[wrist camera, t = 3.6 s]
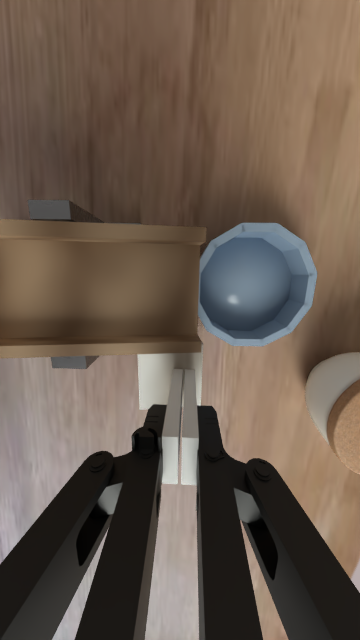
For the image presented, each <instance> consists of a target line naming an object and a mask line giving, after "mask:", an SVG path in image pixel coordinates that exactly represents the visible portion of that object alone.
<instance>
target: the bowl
mask: <svg viewBox="0 0 360 640" xmlns="http://www.w3.org/2000/svg"><path fill="white" fill-rule="evenodd" d="M316 279H317V271H316V268H315V266H314V263H313V260H312V258H311V255H310V253H309V250H308V248H307V245H306V243H305V242H304V241H303V240H301V239H300V238H299V237H297V236H296V235H294V234H293V233H291V232H290V231H288V230H287V229H285V228H284V227H282V226H281V225H280V224H278V223H241V224H239V225H237V226H236V227H234V228H232V229H231V230H229V231H227V232H225V233H224V234H222V235H220V236H219V237H217V238H215V239H213V240H212V241H211V242H210V243H209V244H208V245H207V246H206V248H205V250H204V251H203V253H202V255H201V256H200V271H199V299H198V316H199V317H200V319H201V321H202V323H203V325H204V327H205V328H206V330H207V331H208V332H210V333H212V334H213V335H215V336H217V337H218V338H220V339H222V340H224V341H225V342H227V343H229V344H230V345H232V346H264V345H266V344H269V343H271V342H273V341H275V340H277V339H279V338H281V337H283V336H285V335H287V334H289V333H291V332H292V331H293V330H294V328H295V327H296V326H297V325H298V323H299V322H300V321H301V319H302V318H303V317H304V315H305V314H306V313H307V312H308V310H309V309H310V308H311V306H312V302H313V296H314V290H315V284H316Z"/></svg>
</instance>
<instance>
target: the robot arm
mask: <svg viewBox="0 0 360 640" xmlns="http://www.w3.org/2000/svg"><path fill="white" fill-rule="evenodd" d="M182 392H183V369H173V373H172V379H171V385H170V391H169V397H168V403H167V405H162V404H153V405H152V406H151V407H150V408H149V409H148V412H147V416H146V419H145V422H144V426H143V427H141V428H139V429H137V430H136V431H135V432H134V433H133V435H132V451H131V452H129V453H128V454H125V455H122V456H118V457H113V456H112V454H111V453H109V452H108V451H100V452H96V453H94V454H92V455H90V456H89V457H88V458H87V459H86V460H85V461H84V462H83V464H82V465H81V466H80V467H79V468H78V470H77V471H76V472H75V473H74V475H73V476H72V477H71V478H70V480H69V481H68V482H67V483H66V484H65V486H64V487H63V488H62V489H61V491H60V492H59V493H58V494H57V495H56V497H55V498H54V499H53V500H52V502H51V503H50V504H49V505H48V507H47V508H46V509H45V510H44V511H43V513H42V514H41V515H40V516H39V518H38V519H37V520H36V521H35V522H34V524H33V525H32V526H31V527H30V529H29V530H28V531H27V532H26V534H25V535H24V536H23V537H22V538H21V540H20V541H19V542H18V543H17V545H16V546H15V547H14V548H13V550H12V551H11V552H10V553H9V554H8V556H7V557H6V558H5V559H4V561H3V562H2V563H1V564H0V640H52V638H53V636H54V634H55V632H56V630H57V628H58V626H59V624H60V622H61V620H62V618H63V616H64V614H65V612H66V610H67V608H68V607H69V605H70V603H71V601H72V599H73V597H74V595H75V593H76V591H77V589H78V587H79V585H80V583H81V581H82V579H83V577H84V575H85V573H86V571H87V569H88V567H89V565H90V563H91V561H92V559H93V557H94V555H95V553H96V551H97V549H98V547H99V545H100V543H101V541H102V539H103V537H104V535H105V533H106V532H107V530H108V533H107V536H106V539H105V542H104V546H103V549H102V552H101V556H100V559H99V562H98V565H97V569H96V572H95V575H94V578H93V582H92V585H91V588H90V592H89V595H88V598H87V601H86V605H85V608H84V611H83V614H82V618H81V621H80V624H79V628H78V631H77V634H76V637H75V640H145V631H146V622H147V614H148V605H149V596H150V588H151V579H152V570H153V562H154V553H155V544H156V536H157V527H158V518H159V510H160V501H161V484H162V483H167V484H178V469H179V451H180V433H181V415H182ZM181 484H184V485H197V498H196V511H197V549H198V598H199V640H263V637H262V632H261V626H260V621H259V616H258V611H257V606H256V601H255V595H254V590H253V585H252V580H251V575H250V570H249V564H248V559H247V554H246V549H245V544H244V539H243V534H242V528H241V523H240V520H242V523H243V526H244V528H245V531H246V533H247V536H248V538H249V541H250V543H251V546H252V548H253V551H254V553H255V556H256V559H257V561H258V564H259V566H260V569H261V571H262V574H263V576H264V579H265V581H266V584H267V586H268V589H269V591H270V594H271V596H272V599H273V601H274V604H275V606H276V609H277V611H278V614H279V616H280V619H281V621H282V624H283V626H284V629H285V631H286V634H287V636H288V639H289V640H360V593H359V591H358V590H357V588H356V587H355V585H354V584H353V583H352V581H351V580H350V578H349V577H348V575H347V574H346V572H345V571H344V569H343V568H342V566H341V565H340V563H339V562H338V560H337V559H336V557H335V556H334V554H333V553H332V551H331V550H330V549H329V547H328V546H327V544H326V543H325V541H324V540H323V538H322V537H321V535H320V534H319V532H318V531H317V529H316V528H315V526H314V525H313V523H312V522H311V520H310V519H309V517H308V516H307V515H306V513H305V512H304V510H303V509H302V507H301V506H300V504H299V503H298V501H297V500H296V498H295V497H294V495H293V494H292V492H291V491H290V489H289V488H288V486H287V485H286V483H285V482H284V481H283V479H282V478H281V476H280V475H279V473H278V472H277V470H276V469H275V468H274V467H273V466H272V465H271V464H270V463H268V462H267V461H265V460H262V459H260V458H253V459H251V460H249V461H248V462H247V464H245V463H243V462H240V461H237V460H235V459H233V458H232V457H230V456H229V455H228V454H227V453H226V451H225V450H224V448H223V444H222V439H221V434H220V428H219V423H218V418H217V413H216V411H215V409H214V408H213V407H212V406H199V405H197V397H196V380H195V370H191V369H185V384H184V407H183V429H182V469H181ZM108 528H109V529H108Z"/></svg>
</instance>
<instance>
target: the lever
mask: <svg viewBox="0 0 360 640" xmlns="http://www.w3.org/2000/svg"><path fill="white" fill-rule="evenodd" d="M204 242H206V227H189V226H163V225H138V224H113V223H87V222H62V221H36V220H11V219H0V358H29V357H63V356H98V355H132V354H138V377H139V403H140V410H145V409H149V408H150V407H151V406H152V405H153V404H162V405H167V403H168V397H169V391H170V385H171V379H172V373H173V369H183V392H182V407H184V384H185V369H191V370H195V380H196V397H197V405H199V406H201V384H202V361H203V343H202V341H201V340H200V338H199V336H198V335H197V327H198V299H199V271H200V245H201V244H203V243H204Z"/></svg>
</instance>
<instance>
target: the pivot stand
mask: <svg viewBox="0 0 360 640" xmlns="http://www.w3.org/2000/svg"><path fill="white" fill-rule="evenodd" d="M28 206H29V213H30V219H32V220H36V221H62V222H87V223H104V222H103V221H101V220H100V219H98V218H96V217H95V216H93V215H92V214H90V213H88V212H87V211H85V210H84V209H82V208H80V207H79V206H77V205H76V204H74V203H72V202H71V201H69V200H28ZM113 224H138V225H141V224H140V223H113ZM99 356H100V355H98V356H63V357H51V361H52V368H72V369H87V368H88V367H89V366H90V365H91V364H92V363H93V362H94V361H95V360H96V359H97V358H98V357H99Z"/></svg>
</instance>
